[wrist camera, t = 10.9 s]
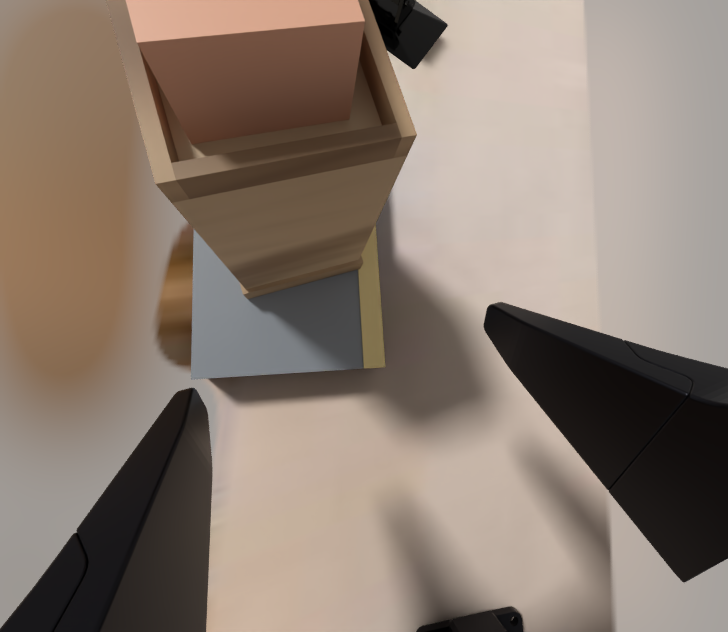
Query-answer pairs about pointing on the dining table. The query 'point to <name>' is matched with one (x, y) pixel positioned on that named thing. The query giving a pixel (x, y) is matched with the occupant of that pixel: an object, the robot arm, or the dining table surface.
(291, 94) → the block
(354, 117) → the open wooden bin
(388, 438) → the dining table surface
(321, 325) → the dock
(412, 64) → the black slotted stand
